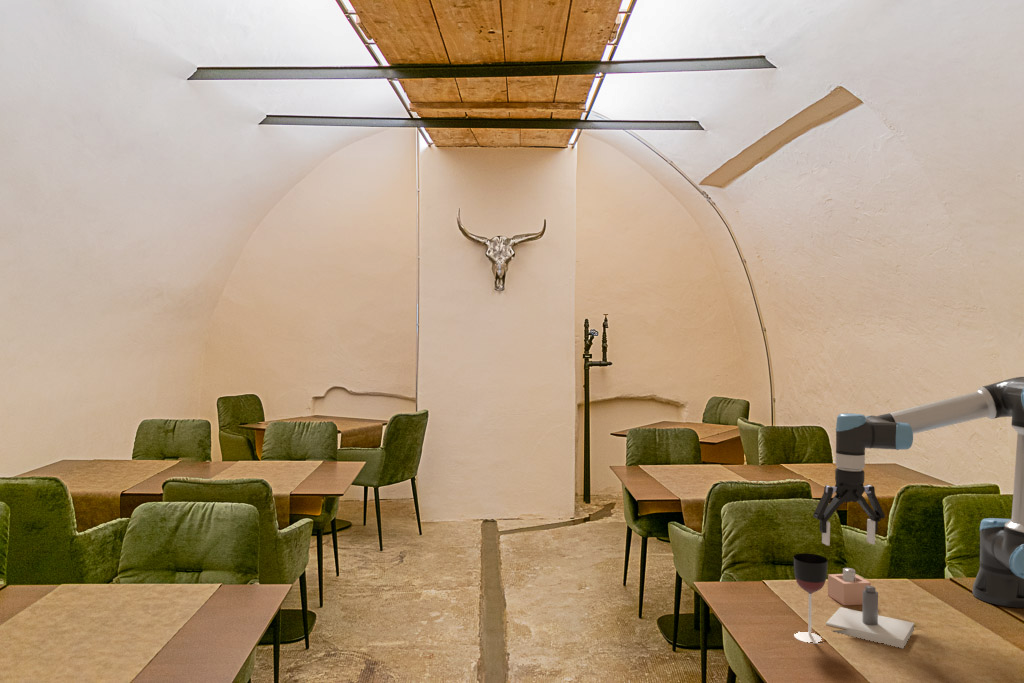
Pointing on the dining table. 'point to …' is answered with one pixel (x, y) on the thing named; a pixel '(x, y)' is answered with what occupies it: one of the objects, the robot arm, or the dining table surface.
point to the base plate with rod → (871, 622)
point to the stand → (848, 575)
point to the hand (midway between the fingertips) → (848, 543)
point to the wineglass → (810, 585)
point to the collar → (846, 589)
